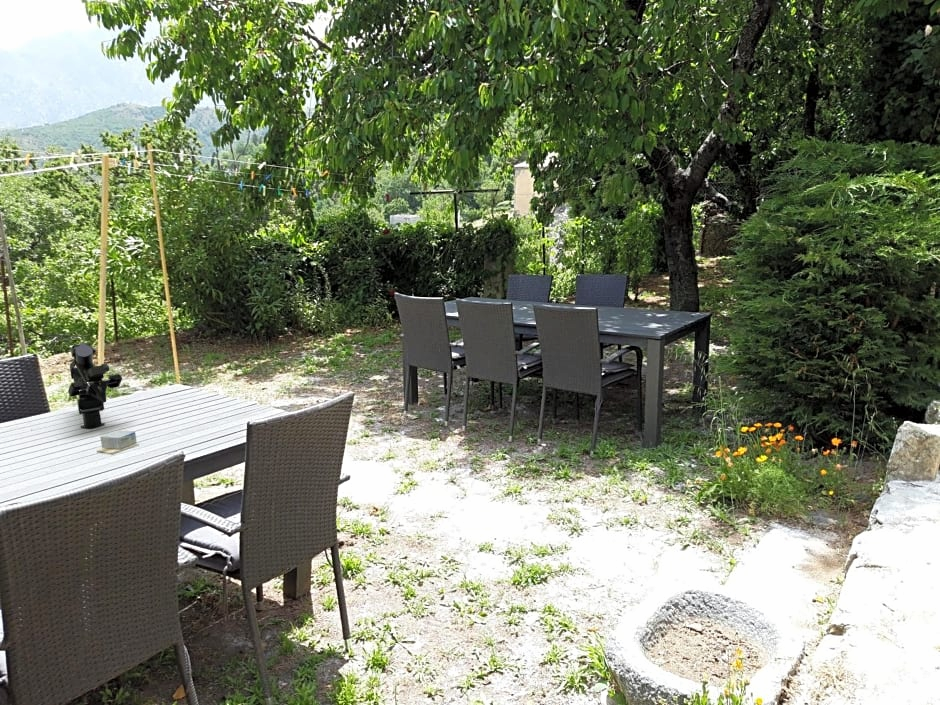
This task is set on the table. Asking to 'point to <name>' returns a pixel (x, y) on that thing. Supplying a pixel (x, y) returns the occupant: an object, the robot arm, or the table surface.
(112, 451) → the pad
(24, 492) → the table surface
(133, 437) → the medicine box
